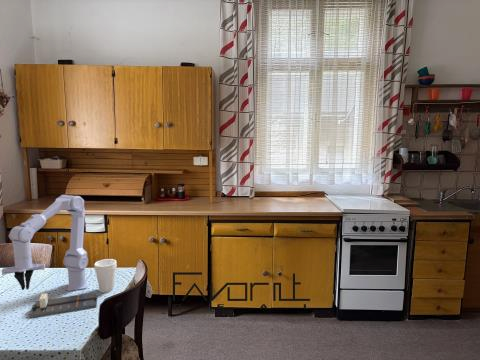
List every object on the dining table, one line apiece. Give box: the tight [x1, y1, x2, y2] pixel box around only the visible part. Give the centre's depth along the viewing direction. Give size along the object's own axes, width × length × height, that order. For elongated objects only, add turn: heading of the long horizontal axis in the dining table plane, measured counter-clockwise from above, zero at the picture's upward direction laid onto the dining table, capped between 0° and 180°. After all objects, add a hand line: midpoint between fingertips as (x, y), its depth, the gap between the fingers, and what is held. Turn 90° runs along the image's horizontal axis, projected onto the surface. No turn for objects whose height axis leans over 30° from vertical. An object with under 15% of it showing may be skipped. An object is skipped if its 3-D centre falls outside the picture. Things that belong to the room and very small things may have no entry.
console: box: [29, 291, 98, 319], centre depth 142 cm, size 12×24×2 cm, turn 111°
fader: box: [39, 292, 49, 308], centre depth 139 cm, size 5×2×4 cm, turn 21°
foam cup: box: [94, 258, 118, 293], centre depth 156 cm, size 10×9×13 cm
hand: (25, 288), depth 136 cm, fingers closed
